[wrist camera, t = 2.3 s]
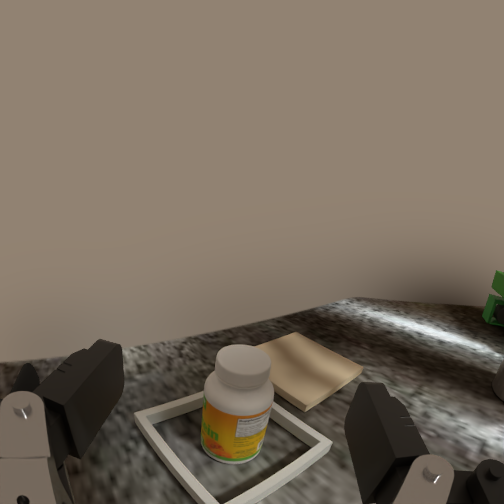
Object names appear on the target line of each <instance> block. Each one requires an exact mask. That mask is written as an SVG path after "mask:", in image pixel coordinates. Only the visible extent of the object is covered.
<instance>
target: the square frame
mask: <svg viewBox="0 0 504 504" xmlns="http://www.w3.org/2000/svg"><path fill="white" fill-rule="evenodd" d="M203 396H204V391H202V392H199V393H196V394H193V395H190V396H187V397H184V398H181V399H178V400H175V401H172V402H168V403H165V404H162V405H159V406H155V407H152V408H149V409H145V410H142V411H138V412H135V413H134V418H135V423H136V425H137V426H138V428H139V429H140V431H141V432H142V434H143V435H144V437H145V438H146V439H147V441H148V442H149V444H150V445H151V446H152V448H153V449H154V450H155V452H156V453H157V455H158V456H159V457H160V459H161V460H162V461H163V462H164V464H165V465H166V466H167V468H168V469H169V470H170V471H171V473H172V474H173V475H174V476H175V478H176V479H177V480H178V481H179V482H180V484H181V485H182V486H183V487H184V488H185V489H186V491H187V492H188V493H189V494H190V495H191V496H192V498H193V499H194V500H195V501H196V502H197V503H198V504H219V503H218V502H217V500H216V499H215V498H214V497H213V496H212V495H211V494H210V493H209V492H208V491H207V490H206V489H205V488H204V487H203V486H202V485H201V484H200V483H199V481H198V480H197V479H196V478H195V477H194V476H193V475H192V474H191V473H190V471H189V470H188V469H187V468H186V467H185V466H184V464H183V463H182V462H181V461H180V460H179V459H178V457H177V456H176V455H175V454H174V452H173V451H172V450H171V449H170V448H169V446H168V445H167V444H166V443H165V441H164V440H163V439H162V437H161V436H160V435H159V433H158V432H157V431H156V430H155V428H154V427H153V426H152V424H155V423H158V422H161V421H164V420H167V419H170V418H173V417H176V416H179V415H182V414H185V413H188V412H190V411H193V410H196V409H199V408H201V407H203ZM269 417H270V418H271V419H273V420H274V421H275V422H277V423H278V424H279V425H281V426H282V427H283V428H285V429H286V430H287V431H289V432H290V433H292V434H293V435H294V436H296V437H297V438H299V439H300V440H301V441H303V442H304V443H306V444H307V445H309V446H310V447H311V448H312V449H310V450H309V451H307V452H306V453H305V454H303V455H302V456H301V457H299V458H298V459H296V460H295V461H293V462H292V463H290V464H289V465H288V466H286V467H285V468H283V469H282V470H280V471H279V472H277V473H275V474H274V475H272V476H271V477H269V478H268V479H266V480H264V481H263V482H261V483H260V484H258V485H256V486H255V487H253V488H251V489H249V490H248V491H246V492H244V493H243V494H241V495H239V496H237V497H235V498H234V499H232V500H230V501H228V502H226V503H224V504H255V503H257V502H259V501H260V500H262V499H263V498H265V497H266V496H268V495H270V494H271V493H273V492H274V491H276V490H277V489H279V488H280V487H282V486H283V485H284V484H286V483H287V482H289V481H290V480H292V479H293V478H294V477H296V476H297V475H298V474H300V473H301V472H303V471H304V470H305V469H307V468H308V467H309V466H311V465H312V464H313V463H314V462H316V461H317V460H318V459H320V458H321V457H322V456H323V455H325V454H326V453H327V452H328V451H329V449H330V447H331V445H332V443H333V442H332V441H331V440H329V439H328V438H326V437H324V436H323V435H321V434H320V433H318V432H317V431H315V430H314V429H312V428H311V427H309V426H308V425H306V424H305V423H303V422H302V421H300V420H299V419H298V418H296V417H295V416H293V415H292V414H290V413H289V412H288V411H286V410H285V409H283V408H282V407H280V406H279V405H278V404H276V403H275V402H274V401H273V403H272V407H271V411H270V415H269Z"/></svg>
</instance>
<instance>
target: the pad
mask: <svg viewBox="0 0 504 504" xmlns="http://www.w3.org/2000/svg"><path fill="white" fill-rule="evenodd" d="M255 347H256V348H259V349H261V350H262V351H264V352H265V353H267V354H268V355H269V357H270V359H271V369H270V376H269V380H270V381H271V383H272V385H273V388H274V392H276V393H277V394H279V395H280V396H281V397H283V398H284V399H286V400H287V401H289V402H290V403H292V404H293V405H295V406H296V407H297V408H299V409H300V410H302V411H303V412H306V411H307V410H309V409H311V408H312V407H314V406H315V405H317V404H318V403H320V402H321V401H323V400H324V399H326V398H327V397H329V396H330V395H332V394H333V393H334V392H336V391H337V390H339V389H340V388H342V387H343V386H344V385H346V384H347V383H349V382H350V381H351V380H353V379H354V378H355V377H357V376H358V375H359V374H361V372H362V369H363V367H362V366H360V365H358V364H356V363H354V362H352V361H350V360H348V359H346V358H344V357H343V356H341V355H339V354H337V353H335V352H333V351H331V350H329V349H327V348H325V347H323V346H322V345H320V344H318V343H316V342H314V341H312V340H310V339H308V338H306V337H305V336H303V335H301V334H299V333H297V332H294V333H291V334H289V335H286V336H283V337H280V338H278V339H275V340H272V341H269V342H266V343H264V344H261V345H258V346H255Z"/></svg>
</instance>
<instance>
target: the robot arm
mask: <svg viewBox="0 0 504 504" xmlns="http://www.w3.org/2000/svg"><path fill="white" fill-rule="evenodd" d="M492 388H493V390H494V392H495V394H496V395H497V396H498V397H499V398H500V399H501V400H503V401H504V359H503V361H502V363H501V365H500V367H499V369H498V372H497V374H496V376H495V378H494V380H493V382H492ZM123 389H124V370H123V356H122V347H121V345H120V344H116V343H113V342H109V341H106V340H102V339H99V340H97V341H96V342H95V343H94V344H93V345H92V346H91V347H90V348H89V349H88V350H87V349H82V350H80V351H78V352H75V353H73V354H71V355H70V356H69V357H68V358H67V359H66V360H65V361H64V362H63V364H61V365H60V366H59V367H58V368H57V370H54V371H53V372H52V373H51V374H50V375H49V376H48V377H47V378H46V379H45V380H44V381H43V382H42V383H41V384H40V385H39V386H38V387H37V388H36V389H35V390H34V391H33V392H27V391H17V392H13V393H11V394H9V395H7V396H6V397H5V398H4V399H0V504H76V501H75V498H74V495H73V491H72V488H71V484H70V480H69V476H68V472H67V468H66V464H65V462H64V460H65V459H66V457H67V456H68V454H69V455H71V456H74V457H76V458H78V459H81V458H82V456H83V455H84V453H85V452H86V450H87V448H88V447H89V445H90V444H91V442H92V441H93V439H94V437H95V436H96V434H97V433H98V431H99V430H100V428H101V426H102V425H103V423H104V422H105V420H106V419H107V417H108V416H109V414H110V413H111V411H112V409H113V408H114V406H115V405H116V403H117V402H118V400H119V399H120V397H121V395H122V392H123ZM344 429H345V435H346V439H347V442H348V446H349V450H350V454H351V458H352V462H353V466H354V470H355V474H356V478H357V482H358V486H359V490H360V495H361V499H362V503H363V504H372V503H376V504H504V464H503V463H501V462H499V461H497V460H493V459H488V460H484V461H482V462H481V463H480V464H479V465H478V466H477V467H476V469H475V470H474V471H456V470H453V468H452V466H451V465H450V463H449V462H448V461H446V460H445V459H443V458H442V457H439V456H436V455H430V453H429V451H428V449H427V447H426V446H425V444H424V442H423V440H422V438H421V436H420V434H419V432H418V430H417V428H416V426H414V422H413V421H412V419H411V418H410V415H409V413H408V411H407V409H406V407H405V406H404V405H403V404H402V403H401V402H400V401H399V400H398V399H396V398H395V397H390V395H389V393H388V391H387V389H386V387H385V385H384V384H383V383H374V382H361V383H360V384H359V386H358V388H357V390H356V393H355V396H354V398H353V401H352V403H351V406H350V408H349V410H348V413H347V415H346V419H345V426H344Z"/></svg>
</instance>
